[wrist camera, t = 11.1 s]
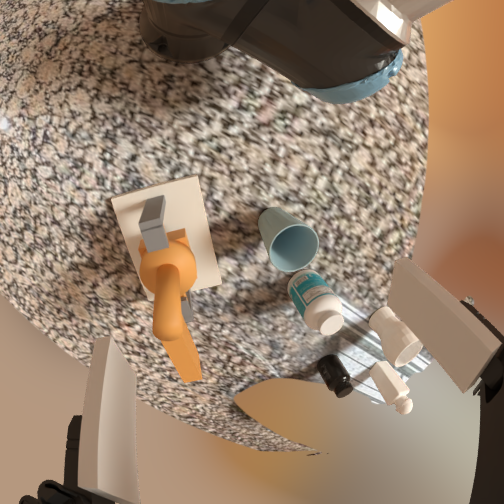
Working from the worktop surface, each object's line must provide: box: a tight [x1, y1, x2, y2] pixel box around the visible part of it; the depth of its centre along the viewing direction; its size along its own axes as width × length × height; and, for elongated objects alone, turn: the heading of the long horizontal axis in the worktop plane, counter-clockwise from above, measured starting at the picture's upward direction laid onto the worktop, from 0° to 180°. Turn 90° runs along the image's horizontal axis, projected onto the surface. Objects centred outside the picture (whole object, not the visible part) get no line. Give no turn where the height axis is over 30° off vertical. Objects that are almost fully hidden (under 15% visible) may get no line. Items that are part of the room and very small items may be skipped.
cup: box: [258, 207, 319, 272], centre depth 44 cm, size 8×8×10 cm
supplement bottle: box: [317, 354, 353, 398], centre depth 68 cm, size 7×7×12 cm
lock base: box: [111, 174, 222, 323], centre depth 41 cm, size 20×14×11 cm
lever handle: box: [138, 224, 202, 383], centre depth 35 cm, size 8×16×17 cm, turn 8°
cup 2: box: [369, 306, 423, 367], centre depth 64 cm, size 11×11×15 cm
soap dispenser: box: [369, 361, 413, 414], centre depth 75 cm, size 6×6×22 cm
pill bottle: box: [287, 269, 344, 335], centre depth 51 cm, size 8×7×14 cm
